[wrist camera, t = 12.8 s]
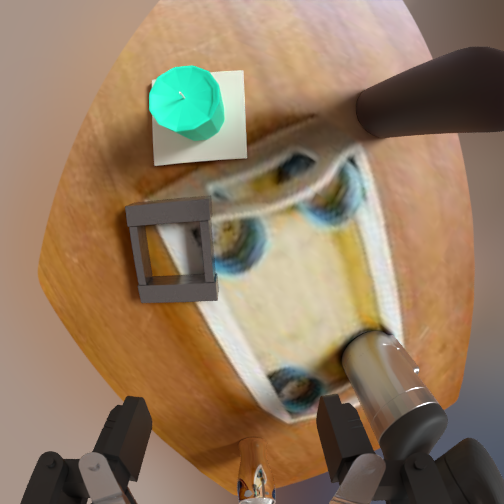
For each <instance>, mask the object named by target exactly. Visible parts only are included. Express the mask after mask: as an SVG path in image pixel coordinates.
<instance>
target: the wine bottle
mask: <svg viewBox="0 0 504 504" xmlns="http://www.w3.org/2000/svg"><path fill="white" fill-rule="evenodd" d="M356 113H357V117H358V119H359V122H360V123H361V125H362V126H363V128H364V129H365V130H366V131H367V132H369V133H370V134H372V135H374V136H377V137H380V138H390V137H400V136H411V135H424V134H441V133H466V132H467V133H472V132H498V131H499V132H500V131H504V51H501V50H498V49H494V48H490V47H468V48H464V49H460V50H457V51H454V52H451V53H449V54H446V55H443V56H441V57H438V58H436V59H433V60H430V61H428V62H426V63H423V64H421V65H418V66H416V67H414V68H411V69H409V70H407V71H404V72H402V73H400V74H398V75H396V76H393V77H391V78H389V79H387V80H385V81H383V82H380V83H378V84H376V85H374V86H372V87H370V88H368V89H366V90H364V91H363V92H362V93H361V95H360V96H359V98H358V100H357V103H356Z"/></svg>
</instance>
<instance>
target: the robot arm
mask: <svg viewBox="0 0 504 504" xmlns="http://www.w3.org/2000/svg"><path fill="white" fill-rule="evenodd" d="M342 366H343V368H344V370H345V373H346V375H347V377H348V379H349V381H350V383H351V385H352V387H353V389H354V391H355V393H356V396H357V398H358V400H359V402H360V404H361V406H362V408H363V410H364V413H365V415H366V417H367V419H368V421H369V423H370V425H371V428H372V430H373V432H374V434H375V436H376V438H377V441H378V443H379V445H380V447H381V449H382V452H383V455H384V459H382V458H381V457H380V456H378V455H376V453H375V452H374V450H373V448H372V446H371V443H370V441H369V438H368V436H367V434H366V431H365V429H364V427H363V424H362V422H361V420H360V417H359V415H358V412H357V410H356V409H355V408H354V407H353V406H352V405H351V404H350V403H345V404H341V401H340V398H339V396H338V394H332V395H325V396H321V397H320V401H319V406H318V412H317V418H316V423H317V429H318V433H319V437H320V441H321V444H322V448H323V452H324V456H325V460H326V464H327V467H328V471H329V475H330V479H331V482H332V483H335V482H339V485H340V487H339V489H338V491H337V492H336V494H335V496H334V497H333V499H332V500H331V501H330V503H329V504H370V502H371V501H372V500H374V501H376V500H385V501H386V504H504V480H503V478H502V476H501V474H500V472H499V470H498V468H497V466H496V465H495V463H494V461H493V459H492V458H491V456H490V455H489V453H488V452H487V450H486V449H485V448H484V447H483V446H482V445H481V444H480V443H479V442H478V441H477V440H475V439H472V438H466V439H464V440H462V441H461V442H459V443H458V444H457V445H456V446H454V447H453V448H451V449H450V450H449V451H448V452H446V453H445V454H443V455H442V456H441V457H440V458H438V459H437V460H435V461H434V460H433V458H432V457H431V456H430V455H429V453H430V451H431V450H432V448H433V447H434V445H435V444H436V443H437V441H438V440H439V439H440V437H441V436H442V434H443V433H444V431H445V429H446V427H447V422H448V419H447V415H446V413H445V412H444V410H443V409H442V407H441V406H440V405H439V403H438V402H437V400H436V399H435V398H434V396H433V395H432V393H431V392H430V391H429V389H428V388H427V387H426V385H425V384H424V383H423V381H422V380H421V379H420V377H419V376H418V372H419V367H418V365H417V364H416V363H415V362H414V360H413V359H412V358H411V357H410V355H409V354H408V353H407V352H406V350H405V349H404V348H403V347H402V345H401V344H400V343H399V342H398V340H397V339H396V338H395V337H394V335H387V334H385V333H384V332H380V331H371V332H367V333H364V334H362V335H360V336H358V337H357V338H356V339H354V340H353V341H352V342H351V343H350V344H349V345H348V346H347V348H346V349H345V351H344V353H343V356H342ZM151 430H152V418H151V416H150V413H149V411H148V408H147V405H146V403H145V400H144V398H142V397H133V396H127V397H126V398H125V401H124V403H123V405H117V406H116V407H115V408H114V409H113V410H111V412H110V414H109V416H108V418H107V421H106V422H105V425H104V428H103V429H102V431H101V433H100V436H99V438H98V440H97V443H96V445H95V447H94V450H93V451H92V452H91V453H87V454H85V455H83V456H82V457H81V459H63V458H62V457H61V456H60V455H59V454H58V453H56V452H52V451H49V452H45V453H44V454H42V455H41V456H40V458H39V460H38V462H37V464H36V466H35V469H34V471H33V473H32V476H31V478H30V480H29V483H28V485H27V488H26V490H25V493H24V495H23V498H22V501H21V504H87V500H88V498H91V500H92V503H91V504H137V502H136V500H135V499H134V497H133V495H132V493H131V492H130V490H129V488H128V482H129V480H130V481H135V482H137V480H138V476H139V473H140V469H141V465H142V462H143V458H144V454H145V451H146V447H147V444H148V440H149V437H150V433H151Z"/></svg>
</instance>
